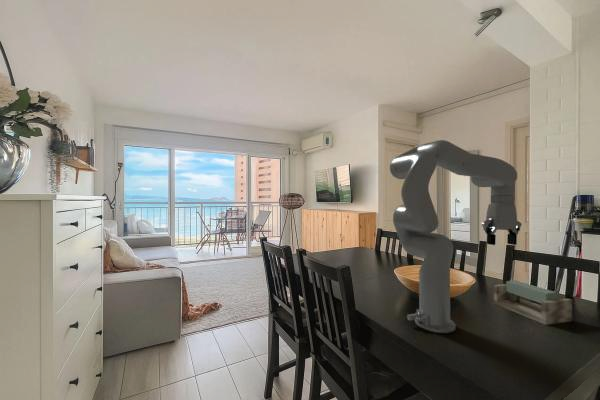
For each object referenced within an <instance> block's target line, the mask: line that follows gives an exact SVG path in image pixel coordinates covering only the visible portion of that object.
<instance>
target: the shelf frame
mask: <svg viewBox="0 0 600 400" xmlns="http://www.w3.org/2000/svg"><path fill="white" fill-rule="evenodd" d="M493 304H494V305H497V306H498V307H502V308H504V309H506V310H509V311H512V312H514V313H517V314H518V315H521V316H523V317H526V318H528V319H531V320H534V321H535V322H538V323H540V324H542V325H546V326H547V325H554V324H561V323H568V322H573V299H571V298H561V299H556V300H551V301H543V302H542V304H541V303H540V304H538V303H536V302H533V301H529V300H528V299H524V298H522V297H521V296H518V295H515V294H512V293H510V292H507V291H506V283H504V284H503V283H502V284H494V285H493Z"/></svg>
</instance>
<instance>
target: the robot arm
mask: <svg viewBox="0 0 600 400" xmlns="http://www.w3.org/2000/svg"><path fill="white" fill-rule="evenodd" d="M437 167H440V168H443V169H445V170H446V171H449V172H450V173H453V174H455V175H458V176H463V177H470V180H471V183H472V184H473V185H474V186H475V187H479V188H490V203H489V204H488V205H487V206H488V207H487V211H486V216H485V218H486V219H485V220H484V221H483V222H481V226H482V228H483V231H484V232H485V234H486V244H488V245H492V246H496V234H495V233H496V232H497V231H499V230H500V231H503V230H505V231H507V244H508V245H514V246H517V241H518V240H517V237H518V234H519V232H520V231H521V226H522V224H523V223H522V222H520V221H518V215H517V207H516V204H515V203H516V202H515V201H516V181H517V179H518V172H517V170H516V168H515V167H514V166H513V165H512V164H510V163H508V162H507V161H505V160H503V159H501V158H497V157H492V156H487V155H482V154H477V153H476V154H475V153H471V152H469V151H467V150H465V149H463V148H462V147H460V146H458V145H456V144H454V143H452V142H450V141H448V140H445V139H440V140H434V141H430V142H426V143H423V144H420V145H418V146H415V147H413V148H412V149H409V150H408V151H406V152H404V153H402V154H399V155H397V156H395V157H394V158H393V159H392V160H391V162H390V164H389V171H390V174H391V175H392V177H394V178H395V179H398V180H404V181H403V184H402V187H401V191H400V194H401V195H400V196H401V200H402V202H403V204H401V205H399V206H397V207H396V208H395V210H394V212H393V216H392V222H393V226H394V229H395V231H396V234H397V236H398V238H399V241H400V244H401V245H402V248H403V249H404V251H405V252H406V253H407V254H409V255H411V256H413V257H416V258H420V259H423V262H422V264H421V265H420V268H419V270H418V271H419V272H418V284H419V285H418V296H419V297H418V298H419V299H418V301H419V302H418V305H419V308H417V309H416V312H415V313H410V314H409V313H408V314H407V315H406V318H407V320H408V321H414V322H415V324H416V325H417V326H418V327H420V328H422V329H424V330H426V331H428V332H432V333H438V334H448V333H453V332H454V331H456V329H457V328H456V323H455V322H454V321H453V320H452V319H451V279H450V278H451V263H452V258H453V254H454V245H453V241H452V240H451V239H450V238H449V237H447V236H446V235H444V234H440V233H436V232H435V231H436V230H437V229H438V227H439V218H438V214H437V212H436V209H435V207H434V204H433V201H432V198H431V194H430V190H429V186H430V181H431V179H432V176H433V174H434V172H435V170H436V169H437Z"/></svg>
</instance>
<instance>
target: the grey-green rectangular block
mask: <svg viewBox="0 0 600 400" xmlns="http://www.w3.org/2000/svg"><path fill="white" fill-rule="evenodd" d="M505 284H506V291H507V292H510V293H512V294H515V295H518V296H520V298H523V299H524V298H525V299H526V300H531V301H532V302H535V303H536V302H537V303H539V304H540V305H541V304H542V302H543V301H551V300H557V292H556V291H553V290H550V289H546V288H543V287H539V286H535V285H533V284H529V283H526V282H522V281H519V280H507V281H505Z"/></svg>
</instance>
